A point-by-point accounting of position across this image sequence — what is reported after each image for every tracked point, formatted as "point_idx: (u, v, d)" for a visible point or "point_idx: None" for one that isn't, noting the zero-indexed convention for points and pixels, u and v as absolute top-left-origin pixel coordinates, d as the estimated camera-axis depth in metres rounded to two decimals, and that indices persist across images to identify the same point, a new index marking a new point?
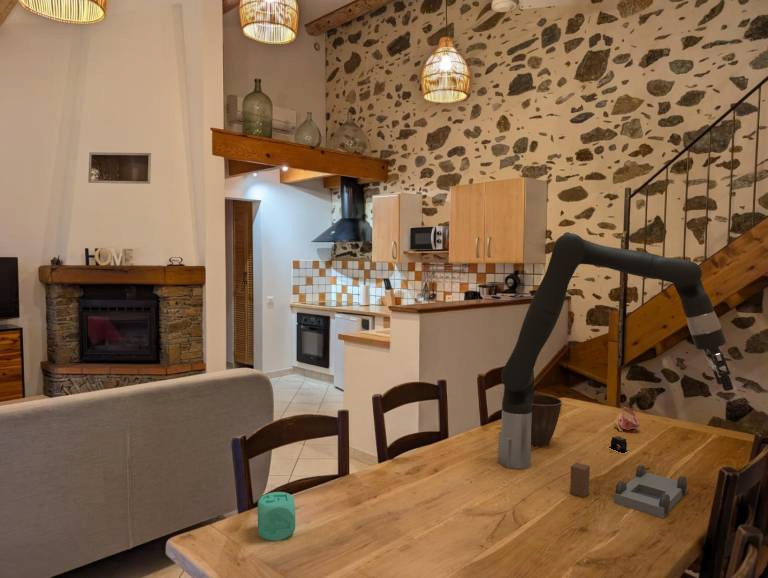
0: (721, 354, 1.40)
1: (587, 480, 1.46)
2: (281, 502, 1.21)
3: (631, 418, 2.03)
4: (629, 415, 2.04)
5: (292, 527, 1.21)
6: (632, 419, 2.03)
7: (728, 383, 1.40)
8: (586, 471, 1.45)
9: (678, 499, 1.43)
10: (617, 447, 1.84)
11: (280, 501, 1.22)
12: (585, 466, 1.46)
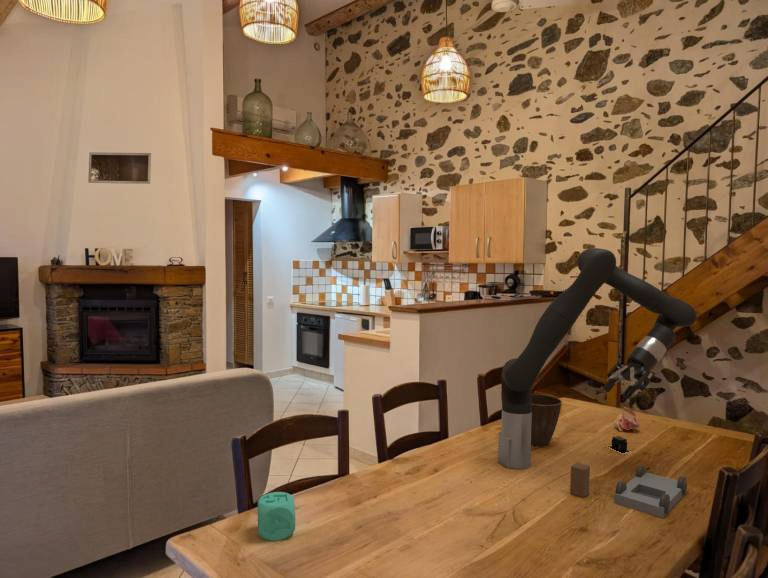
0: (652, 375, 1.56)
1: (587, 480, 1.46)
2: (281, 502, 1.21)
3: (631, 418, 2.03)
4: (629, 415, 2.04)
5: (292, 527, 1.21)
6: (632, 419, 2.03)
7: (631, 393, 1.56)
8: (586, 471, 1.45)
9: (678, 499, 1.43)
10: (618, 447, 1.84)
11: (280, 501, 1.22)
12: (585, 466, 1.46)
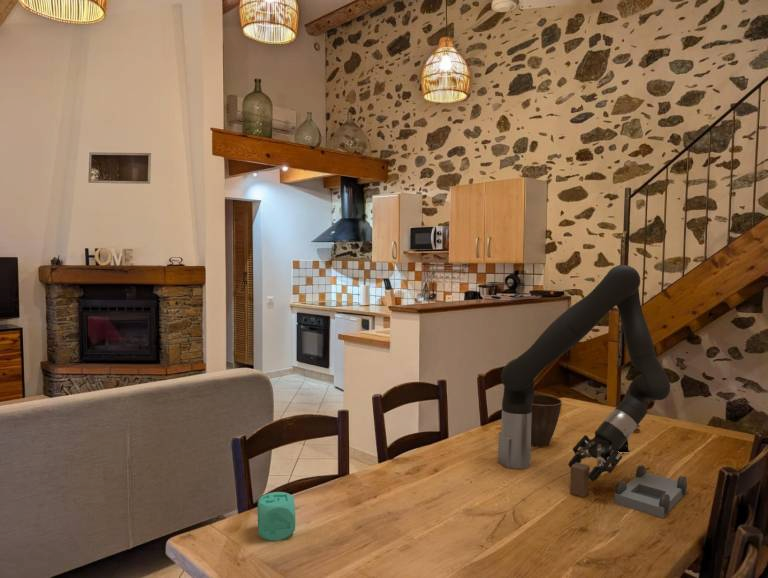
0: (621, 456, 1.42)
1: (587, 480, 1.46)
2: (281, 502, 1.21)
3: None
4: None
5: (292, 527, 1.21)
6: None
7: (597, 476, 1.42)
8: (586, 471, 1.45)
9: (678, 499, 1.43)
10: None
11: (280, 501, 1.22)
12: (585, 466, 1.46)
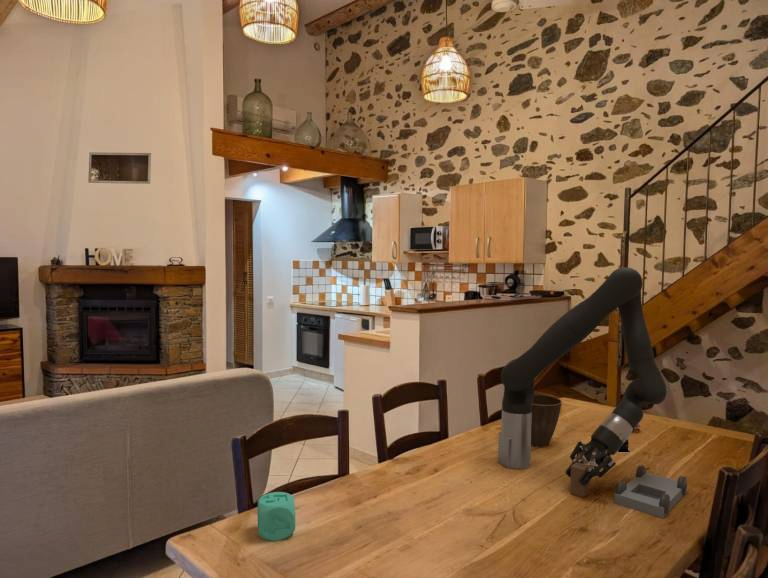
0: (614, 463, 1.42)
1: None
2: (281, 502, 1.21)
3: None
4: None
5: (292, 527, 1.21)
6: None
7: (588, 480, 1.43)
8: None
9: (678, 499, 1.43)
10: None
11: (280, 501, 1.22)
12: (585, 466, 1.46)
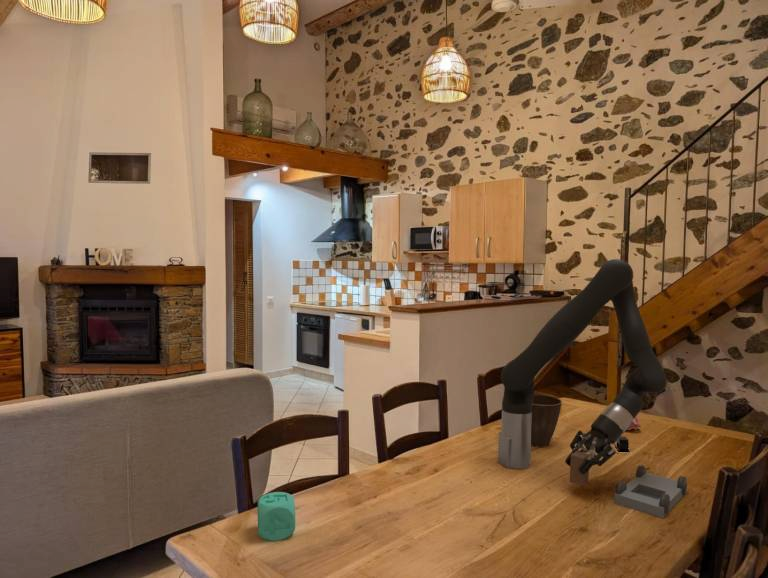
0: (614, 452, 1.42)
1: None
2: (281, 502, 1.21)
3: None
4: None
5: (292, 527, 1.21)
6: (633, 419, 2.03)
7: (587, 469, 1.43)
8: None
9: (678, 499, 1.43)
10: None
11: (280, 501, 1.22)
12: (585, 455, 1.46)
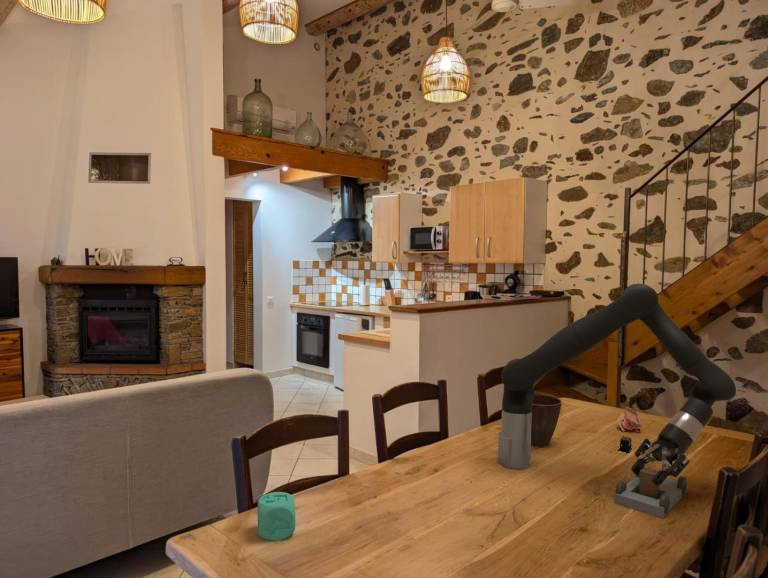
0: (688, 460, 1.38)
1: None
2: (281, 502, 1.21)
3: (633, 418, 2.03)
4: (631, 415, 2.04)
5: (292, 527, 1.21)
6: (634, 419, 2.03)
7: (662, 480, 1.39)
8: None
9: (678, 499, 1.43)
10: None
11: (280, 501, 1.22)
12: (655, 471, 1.42)
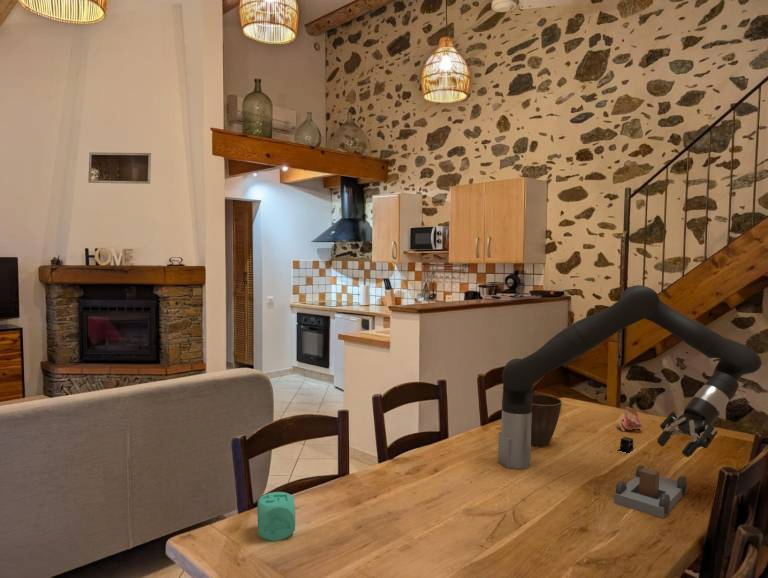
0: (716, 431, 1.40)
1: (657, 485, 1.42)
2: (281, 502, 1.21)
3: (633, 418, 2.03)
4: (631, 415, 2.04)
5: (292, 527, 1.21)
6: (635, 419, 2.03)
7: (692, 451, 1.40)
8: (656, 476, 1.41)
9: (678, 499, 1.43)
10: None
11: (280, 501, 1.22)
12: (655, 471, 1.42)
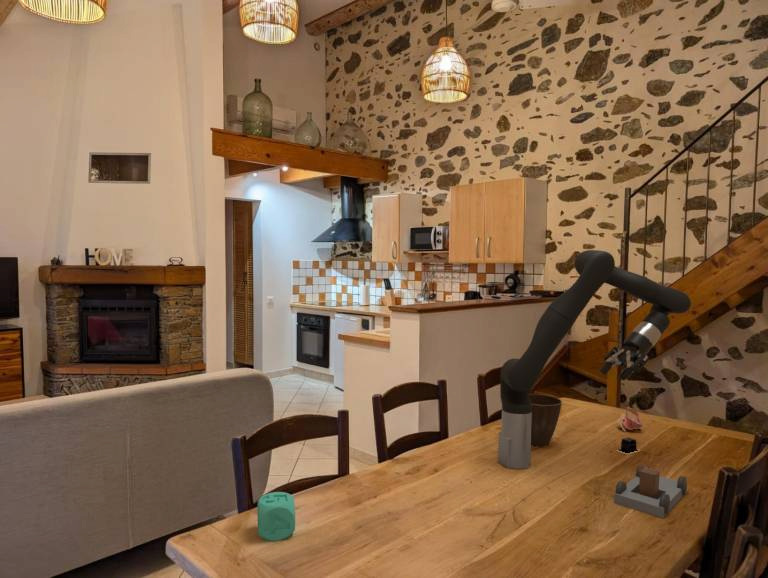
0: (648, 358, 1.63)
1: (657, 485, 1.42)
2: (281, 502, 1.21)
3: (634, 418, 2.03)
4: (632, 415, 2.04)
5: (292, 527, 1.21)
6: (635, 419, 2.03)
7: (627, 375, 1.63)
8: (656, 476, 1.41)
9: (678, 499, 1.43)
10: (628, 448, 1.83)
11: (280, 501, 1.22)
12: (655, 471, 1.42)
